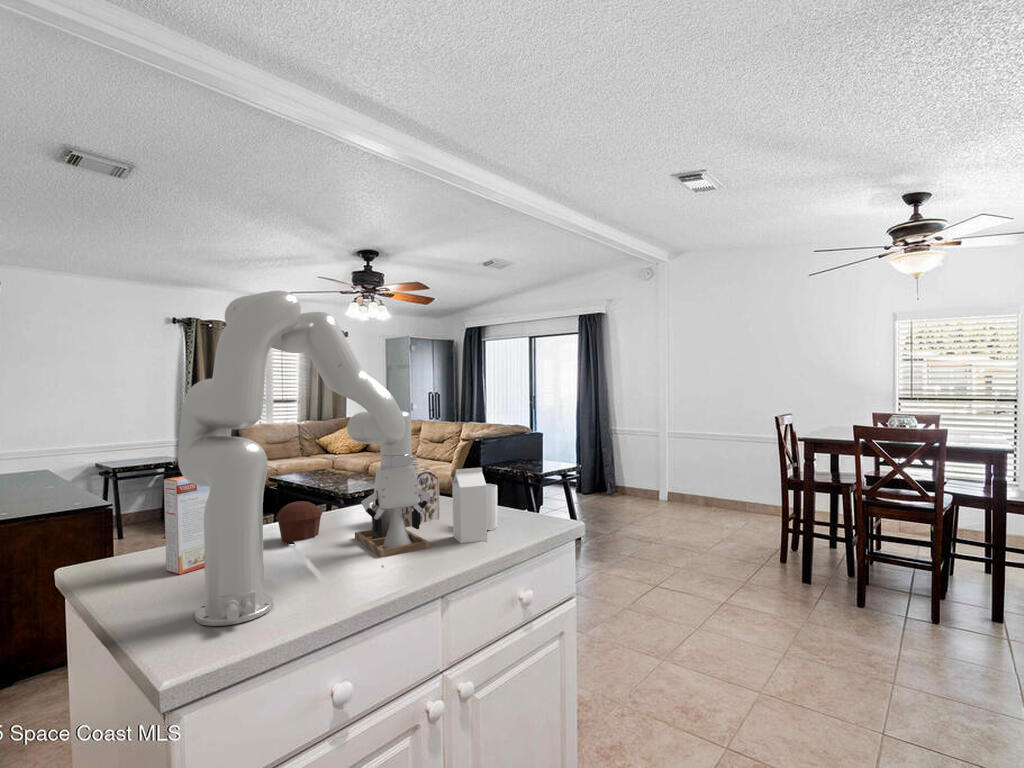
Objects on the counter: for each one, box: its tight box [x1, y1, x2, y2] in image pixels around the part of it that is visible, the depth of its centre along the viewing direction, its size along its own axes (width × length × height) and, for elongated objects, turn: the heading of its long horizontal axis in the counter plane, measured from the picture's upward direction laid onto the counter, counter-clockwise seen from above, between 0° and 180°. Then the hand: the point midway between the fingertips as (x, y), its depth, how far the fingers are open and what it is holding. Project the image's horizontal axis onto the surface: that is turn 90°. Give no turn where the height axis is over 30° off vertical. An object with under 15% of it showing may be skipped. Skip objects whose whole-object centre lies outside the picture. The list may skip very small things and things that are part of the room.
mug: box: [486, 483, 498, 530], centre depth 155 cm, size 10×7×12 cm, turn 44°
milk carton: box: [451, 467, 488, 544], centre depth 140 cm, size 7×7×19 cm
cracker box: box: [163, 475, 210, 575], centre depth 126 cm, size 14×6×21 cm, turn 149°
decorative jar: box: [402, 461, 441, 527], centre depth 162 cm, size 12×12×18 cm
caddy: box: [354, 528, 430, 559], centre depth 137 cm, size 20×12×3 cm, turn 33°
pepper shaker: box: [370, 501, 391, 539], centre depth 141 cm, size 6×6×10 cm
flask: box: [382, 508, 411, 549], centre depth 133 cm, size 7×7×10 cm
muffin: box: [275, 500, 323, 545], centre depth 145 cm, size 12×11×10 cm
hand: (397, 531), depth 133 cm, fingers open, 9 cm apart
